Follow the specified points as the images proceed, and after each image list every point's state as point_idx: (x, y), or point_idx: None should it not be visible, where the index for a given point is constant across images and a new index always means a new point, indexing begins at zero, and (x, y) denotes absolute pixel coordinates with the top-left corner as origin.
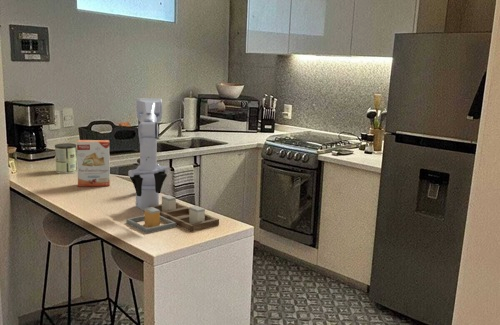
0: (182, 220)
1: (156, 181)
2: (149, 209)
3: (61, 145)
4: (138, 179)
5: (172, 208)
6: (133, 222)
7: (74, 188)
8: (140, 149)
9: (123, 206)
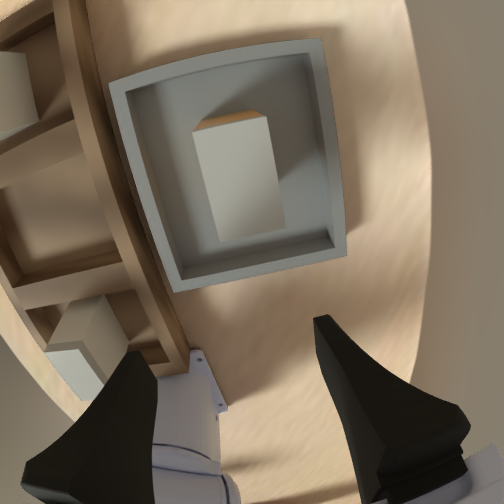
0: (67, 85)
1: (141, 456)
2: (264, 180)
3: None
4: (454, 416)
5: (78, 312)
6: (340, 186)
7: (305, 500)
8: None
9: (252, 425)
